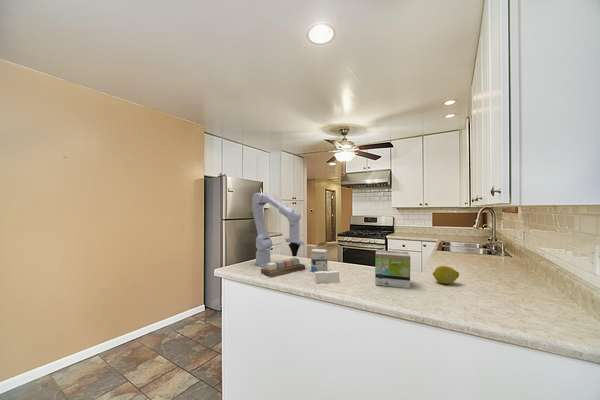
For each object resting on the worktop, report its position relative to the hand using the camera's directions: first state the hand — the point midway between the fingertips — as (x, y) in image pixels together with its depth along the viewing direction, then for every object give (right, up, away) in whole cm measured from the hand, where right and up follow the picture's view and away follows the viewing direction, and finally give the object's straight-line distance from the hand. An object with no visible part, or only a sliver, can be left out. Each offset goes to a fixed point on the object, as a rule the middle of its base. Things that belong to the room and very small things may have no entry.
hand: (294, 256), depth 144 cm
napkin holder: (+16, -8, -23) cm, 29 cm away
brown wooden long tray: (-6, -7, -5) cm, 11 cm away
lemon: (+71, -7, -28) cm, 77 cm away
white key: (-12, -5, -10) cm, 16 cm away
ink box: (+14, -7, -6) cm, 17 cm away
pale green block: (0, -5, 0) cm, 5 cm away
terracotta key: (-4, -5, -3) cm, 7 cm away
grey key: (-8, -5, -6) cm, 11 cm away
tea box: (+46, -7, -27) cm, 54 cm away
